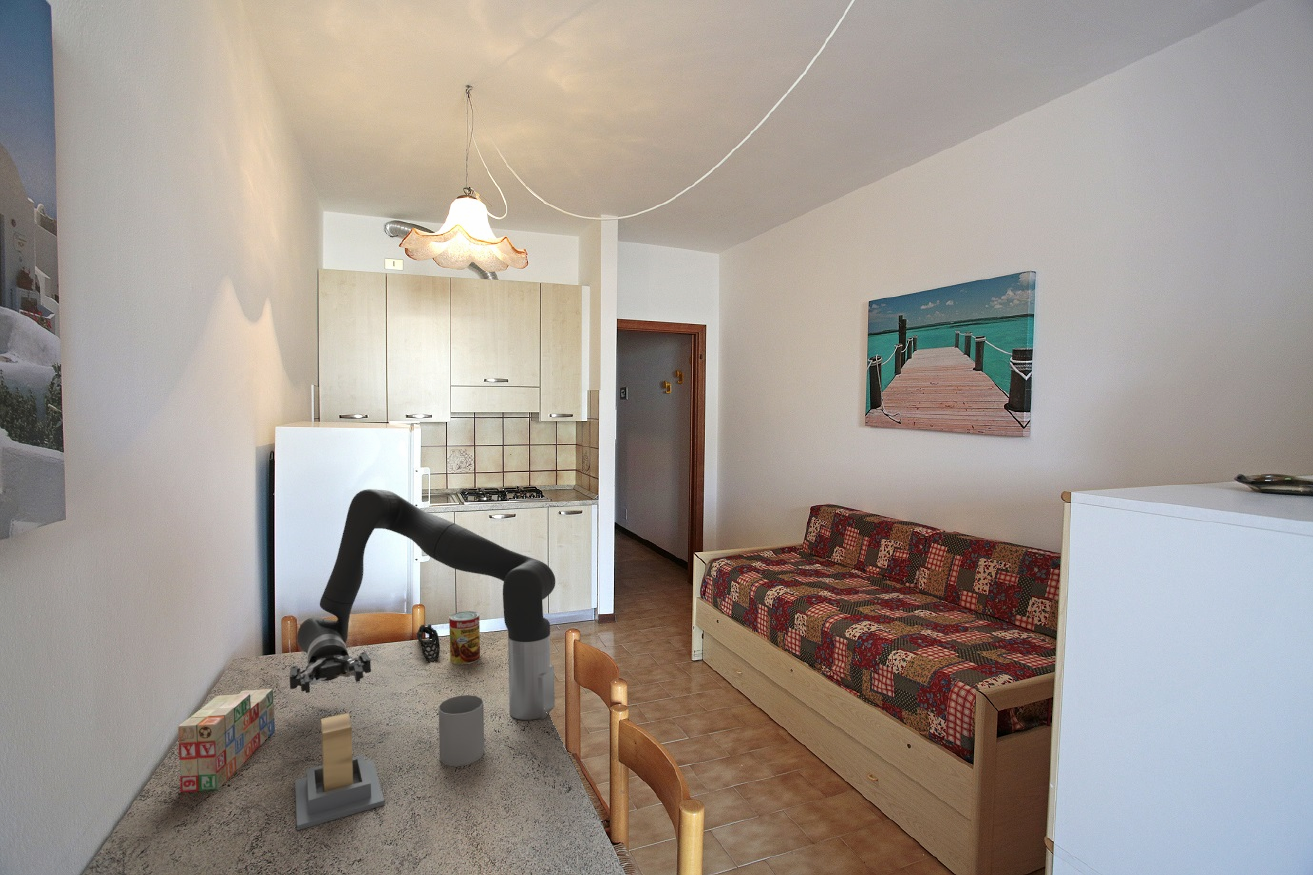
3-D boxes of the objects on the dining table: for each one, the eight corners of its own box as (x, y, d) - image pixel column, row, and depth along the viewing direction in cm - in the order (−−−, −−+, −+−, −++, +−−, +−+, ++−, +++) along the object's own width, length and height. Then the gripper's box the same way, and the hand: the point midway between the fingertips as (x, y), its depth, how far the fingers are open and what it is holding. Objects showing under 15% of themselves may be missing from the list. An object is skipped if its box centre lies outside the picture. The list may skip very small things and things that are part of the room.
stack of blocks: (244, 733, 135) (242, 675, 134) (275, 731, 135) (273, 674, 135) (179, 793, 113) (177, 725, 113) (217, 790, 114) (215, 722, 114)
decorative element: (442, 662, 173) (442, 640, 173) (422, 665, 171) (422, 643, 170) (432, 636, 193) (432, 617, 193) (414, 639, 191) (414, 619, 191)
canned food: (463, 666, 169) (462, 621, 168) (443, 660, 173) (443, 616, 173) (486, 657, 175) (485, 614, 175) (467, 651, 180) (466, 609, 179)
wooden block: (323, 784, 114) (321, 718, 113) (350, 777, 116) (348, 712, 116) (324, 802, 109) (322, 733, 108) (353, 794, 111) (351, 726, 110)
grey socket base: (295, 784, 116) (294, 766, 115) (373, 763, 122) (372, 746, 122) (297, 830, 103) (296, 810, 102) (384, 804, 109) (383, 785, 109)
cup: (438, 748, 128) (437, 699, 127) (480, 739, 131) (479, 691, 130) (441, 770, 120) (440, 717, 119) (486, 760, 123) (485, 709, 123)
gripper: (287, 645, 131) (288, 671, 117) (363, 631, 139) (373, 654, 125) (289, 681, 132) (291, 711, 118) (365, 665, 139) (375, 692, 125)
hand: (333, 682), depth 121 cm, fingers open, 8 cm apart
